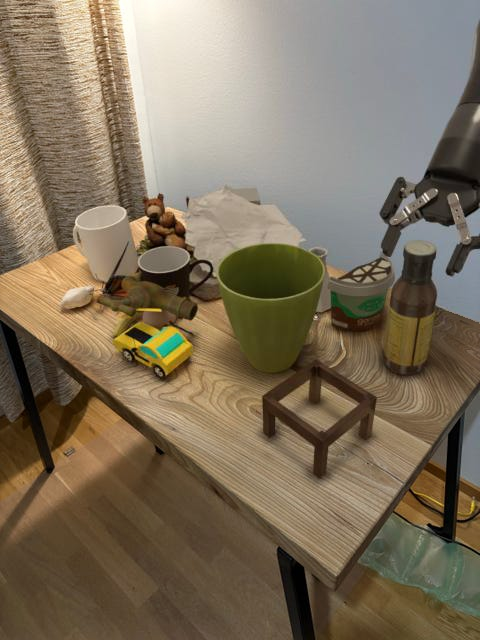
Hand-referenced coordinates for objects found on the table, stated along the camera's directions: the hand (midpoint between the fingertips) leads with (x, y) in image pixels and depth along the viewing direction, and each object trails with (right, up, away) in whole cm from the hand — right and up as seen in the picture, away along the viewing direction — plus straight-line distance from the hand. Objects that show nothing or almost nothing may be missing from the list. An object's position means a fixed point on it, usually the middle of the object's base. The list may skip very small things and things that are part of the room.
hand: (416, 264), depth 69 cm
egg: (-35, -5, +22) cm, 41 cm away
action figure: (-34, -2, +20) cm, 40 cm away
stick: (-32, -7, +17) cm, 37 cm away
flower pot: (-18, -13, +14) cm, 26 cm away
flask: (-9, -4, +25) cm, 27 cm away
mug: (-48, +2, +36) cm, 61 cm away
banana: (-43, -7, +22) cm, 49 cm away
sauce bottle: (+2, -14, +12) cm, 18 cm away
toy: (-22, +9, +35) cm, 42 cm away
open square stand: (-13, -22, +1) cm, 26 cm away
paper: (-24, +20, +32) cm, 45 cm away
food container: (-2, -8, +20) cm, 21 cm away
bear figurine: (-37, +6, +40) cm, 55 cm away
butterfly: (-49, -2, +27) cm, 56 cm away
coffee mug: (-34, -5, +25) cm, 42 cm away
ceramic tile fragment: (-33, -2, +26) cm, 42 cm away
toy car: (-36, -13, +15) cm, 41 cm away
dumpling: (-52, -4, +28) cm, 59 cm away
